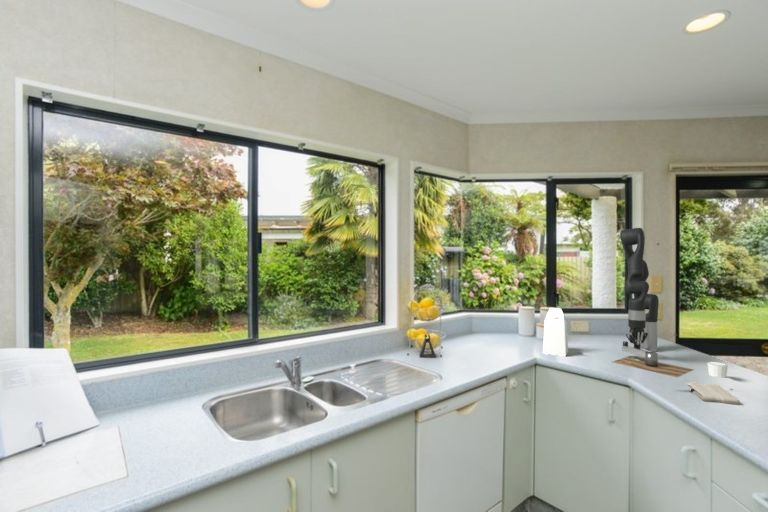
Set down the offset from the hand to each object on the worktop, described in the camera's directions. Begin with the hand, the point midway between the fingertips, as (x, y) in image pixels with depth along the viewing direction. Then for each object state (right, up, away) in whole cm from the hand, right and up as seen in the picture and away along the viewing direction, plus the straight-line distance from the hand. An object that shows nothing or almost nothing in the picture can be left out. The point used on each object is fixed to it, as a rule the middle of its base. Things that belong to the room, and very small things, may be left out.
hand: (637, 351), depth 194 cm
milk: (-35, -6, +18) cm, 40 cm away
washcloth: (-1, -7, -45) cm, 46 cm away
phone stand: (-109, -6, +12) cm, 110 cm away
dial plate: (-1, -6, -11) cm, 13 cm away
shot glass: (+19, -6, -26) cm, 33 cm away
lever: (-2, -4, -4) cm, 6 cm away
